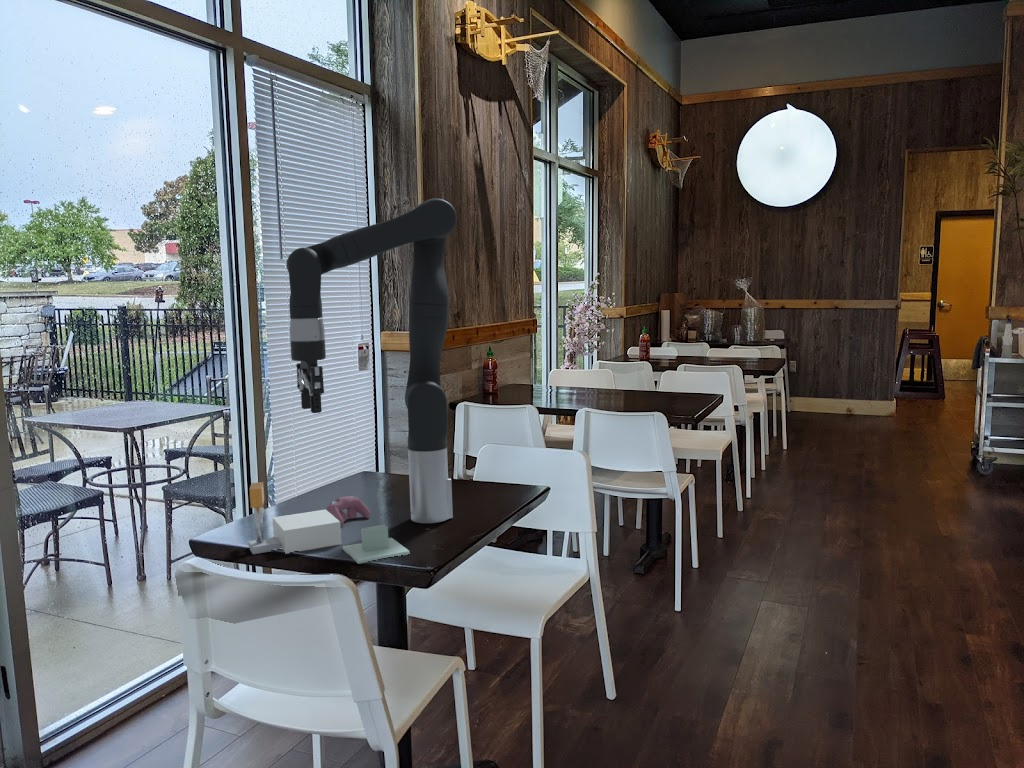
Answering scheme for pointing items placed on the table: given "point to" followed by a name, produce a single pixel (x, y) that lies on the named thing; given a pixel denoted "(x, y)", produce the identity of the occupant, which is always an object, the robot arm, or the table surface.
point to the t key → (258, 508)
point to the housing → (301, 533)
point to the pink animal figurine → (347, 503)
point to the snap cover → (375, 545)
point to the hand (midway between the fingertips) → (311, 410)
